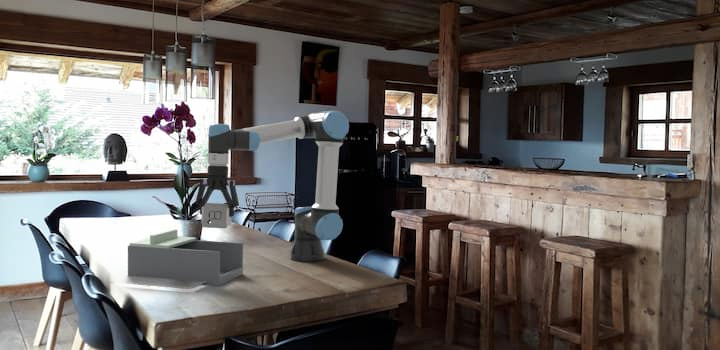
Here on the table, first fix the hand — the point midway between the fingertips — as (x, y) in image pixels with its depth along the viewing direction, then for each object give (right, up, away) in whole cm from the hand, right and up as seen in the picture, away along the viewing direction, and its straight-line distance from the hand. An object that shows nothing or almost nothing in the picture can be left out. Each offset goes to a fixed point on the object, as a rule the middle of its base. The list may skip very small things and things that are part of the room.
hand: (216, 224), depth 222 cm
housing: (-11, -20, 0) cm, 22 cm away
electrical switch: (0, -1, 0) cm, 1 cm away
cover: (-20, -7, +1) cm, 21 cm away
